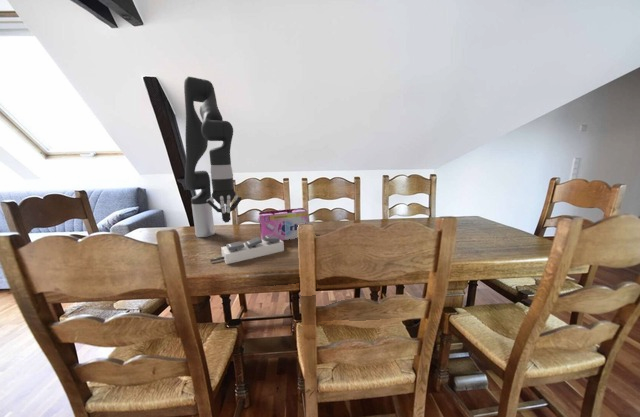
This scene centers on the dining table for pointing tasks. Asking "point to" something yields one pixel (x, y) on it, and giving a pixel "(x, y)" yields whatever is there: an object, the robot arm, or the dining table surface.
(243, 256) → the power strip
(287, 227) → the gum box
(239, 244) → the rocker
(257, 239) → the rocker
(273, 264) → the dining table surface
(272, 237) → the rocker
